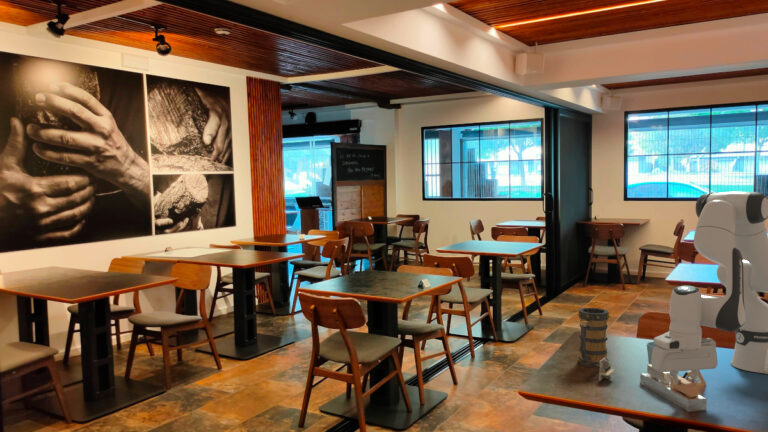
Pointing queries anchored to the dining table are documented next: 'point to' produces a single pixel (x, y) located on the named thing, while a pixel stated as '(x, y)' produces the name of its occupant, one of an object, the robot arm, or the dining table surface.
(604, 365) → the architectural model
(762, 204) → the robot arm
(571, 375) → the dining table surface
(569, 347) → the dining table surface
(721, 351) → the dining table surface
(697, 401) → the rail
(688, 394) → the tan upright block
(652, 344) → the cup
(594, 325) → the mug
